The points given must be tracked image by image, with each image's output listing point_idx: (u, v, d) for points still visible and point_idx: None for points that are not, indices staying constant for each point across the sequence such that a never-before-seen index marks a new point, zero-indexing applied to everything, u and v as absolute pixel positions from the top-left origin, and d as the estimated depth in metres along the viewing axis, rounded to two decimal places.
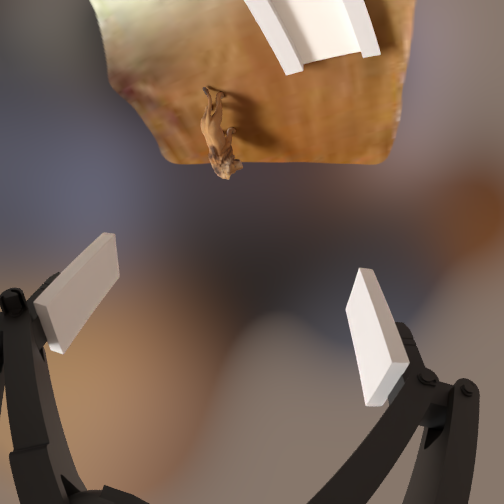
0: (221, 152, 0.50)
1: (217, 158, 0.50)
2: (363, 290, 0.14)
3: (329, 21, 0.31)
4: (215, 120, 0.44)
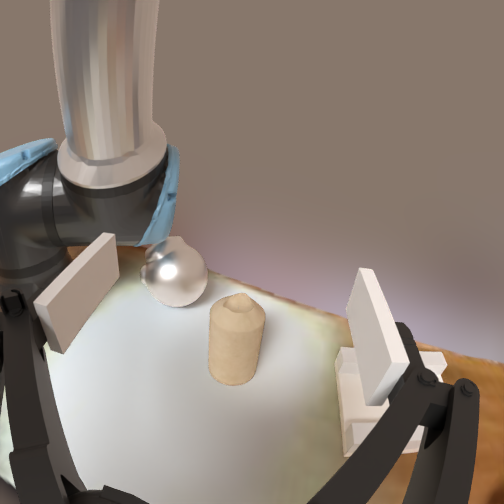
0: None
1: None
2: (363, 290, 0.14)
3: None
4: None
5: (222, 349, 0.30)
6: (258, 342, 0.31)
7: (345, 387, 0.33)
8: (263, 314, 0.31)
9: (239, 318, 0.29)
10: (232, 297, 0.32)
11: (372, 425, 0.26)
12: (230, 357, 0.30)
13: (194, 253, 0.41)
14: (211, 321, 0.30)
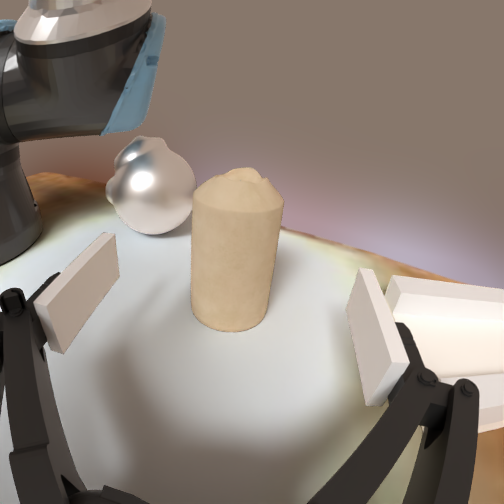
0: None
1: None
2: (363, 290, 0.14)
3: (491, 339, 0.20)
4: None
5: (211, 254, 0.18)
6: (273, 245, 0.19)
7: None
8: (281, 196, 0.19)
9: (242, 190, 0.17)
10: (229, 173, 0.19)
11: None
12: (225, 271, 0.18)
13: (179, 157, 0.29)
14: (194, 204, 0.18)
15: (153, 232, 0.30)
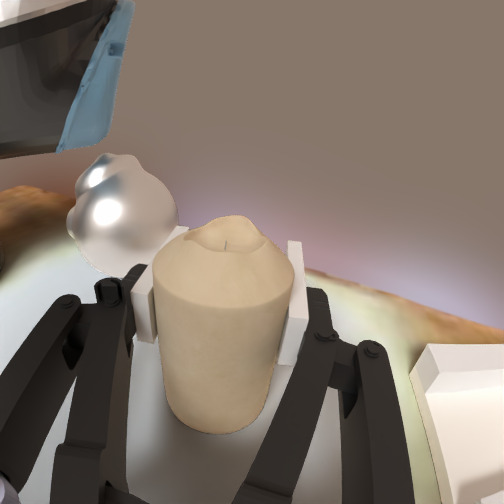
0: None
1: None
2: None
3: None
4: None
5: (183, 357, 0.11)
6: (276, 339, 0.12)
7: (442, 421, 0.14)
8: (289, 265, 0.12)
9: (225, 268, 0.10)
10: (210, 224, 0.13)
11: None
12: (204, 378, 0.12)
13: (154, 180, 0.23)
14: (154, 282, 0.11)
15: None
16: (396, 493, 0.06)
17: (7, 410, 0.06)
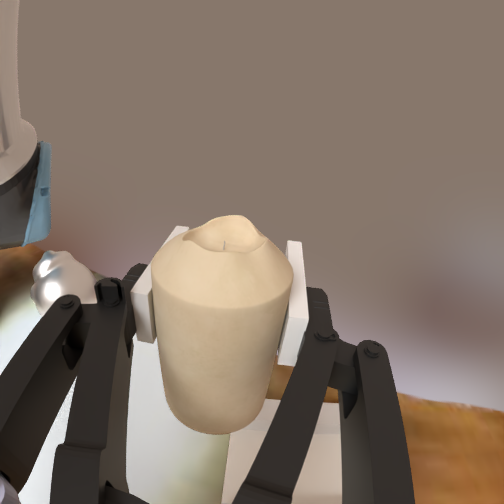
0: None
1: None
2: None
3: (332, 457, 0.24)
4: None
5: (181, 357, 0.11)
6: (275, 340, 0.12)
7: (236, 448, 0.24)
8: (288, 266, 0.12)
9: (224, 268, 0.10)
10: (209, 224, 0.13)
11: None
12: (203, 379, 0.12)
13: (78, 271, 0.32)
14: (152, 282, 0.11)
15: None
16: (396, 493, 0.06)
17: (7, 410, 0.06)
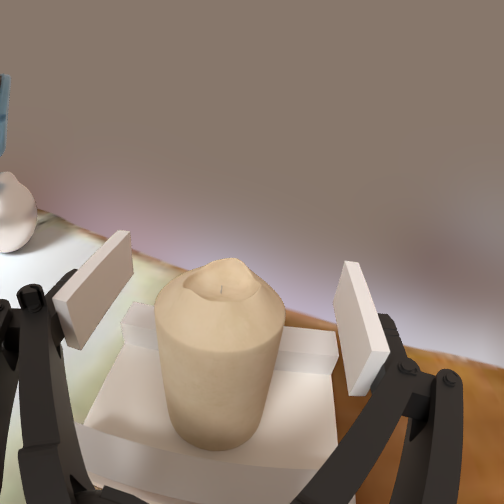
0: None
1: None
2: (347, 282, 0.15)
3: None
4: None
5: (184, 389, 0.12)
6: (269, 372, 0.13)
7: (121, 366, 0.19)
8: (281, 307, 0.13)
9: (221, 316, 0.11)
10: (207, 267, 0.14)
11: (99, 436, 0.12)
12: (204, 406, 0.12)
13: (15, 188, 0.28)
14: (156, 323, 0.12)
15: (2, 251, 0.29)
16: None
17: None
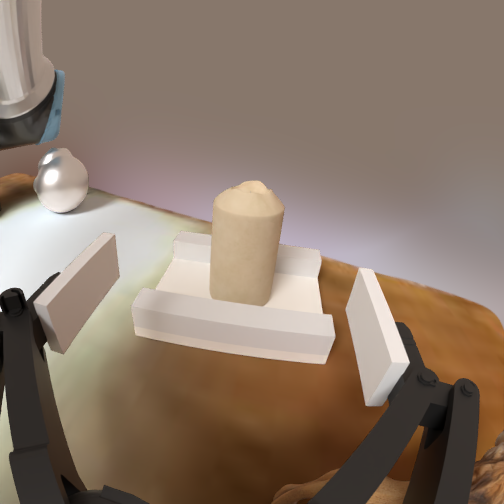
0: None
1: (488, 475, 0.07)
2: (363, 290, 0.14)
3: None
4: None
5: (228, 248, 0.24)
6: (276, 242, 0.24)
7: (173, 269, 0.31)
8: (282, 204, 0.24)
9: (252, 199, 0.22)
10: (242, 184, 0.25)
11: (167, 294, 0.24)
12: (239, 261, 0.24)
13: (74, 160, 0.39)
14: (215, 210, 0.23)
15: (58, 210, 0.40)
16: None
17: None
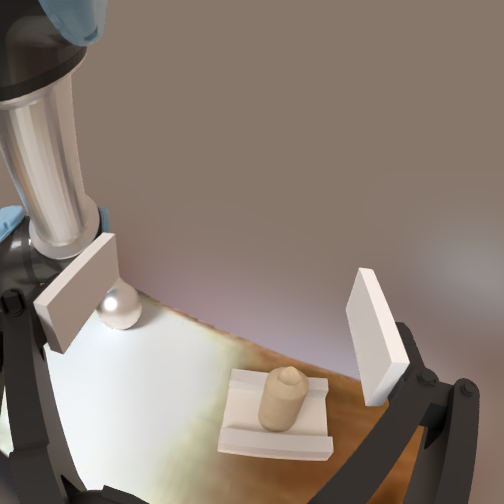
0: None
1: None
2: (363, 290, 0.14)
3: None
4: None
5: (275, 410, 0.36)
6: (302, 402, 0.37)
7: (231, 399, 0.43)
8: (307, 382, 0.37)
9: (291, 389, 0.35)
10: (283, 370, 0.37)
11: (237, 431, 0.36)
12: (281, 415, 0.36)
13: (129, 290, 0.52)
14: (267, 390, 0.36)
15: (119, 329, 0.52)
16: None
17: None
